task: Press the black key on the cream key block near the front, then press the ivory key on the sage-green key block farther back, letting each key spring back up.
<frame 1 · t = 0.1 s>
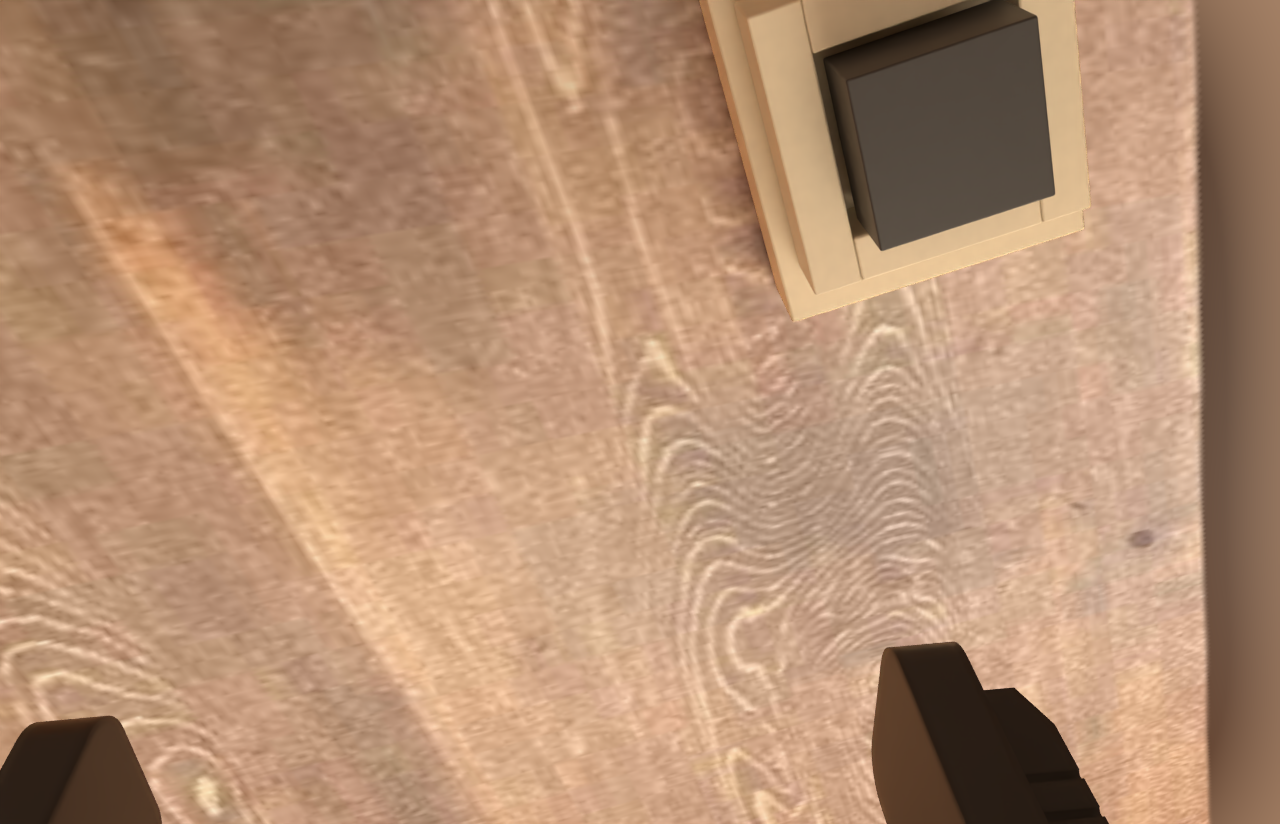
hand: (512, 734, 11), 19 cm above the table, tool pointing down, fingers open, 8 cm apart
black key: (939, 126, 23), point 5 cm above the table, slide at 0.1 cm
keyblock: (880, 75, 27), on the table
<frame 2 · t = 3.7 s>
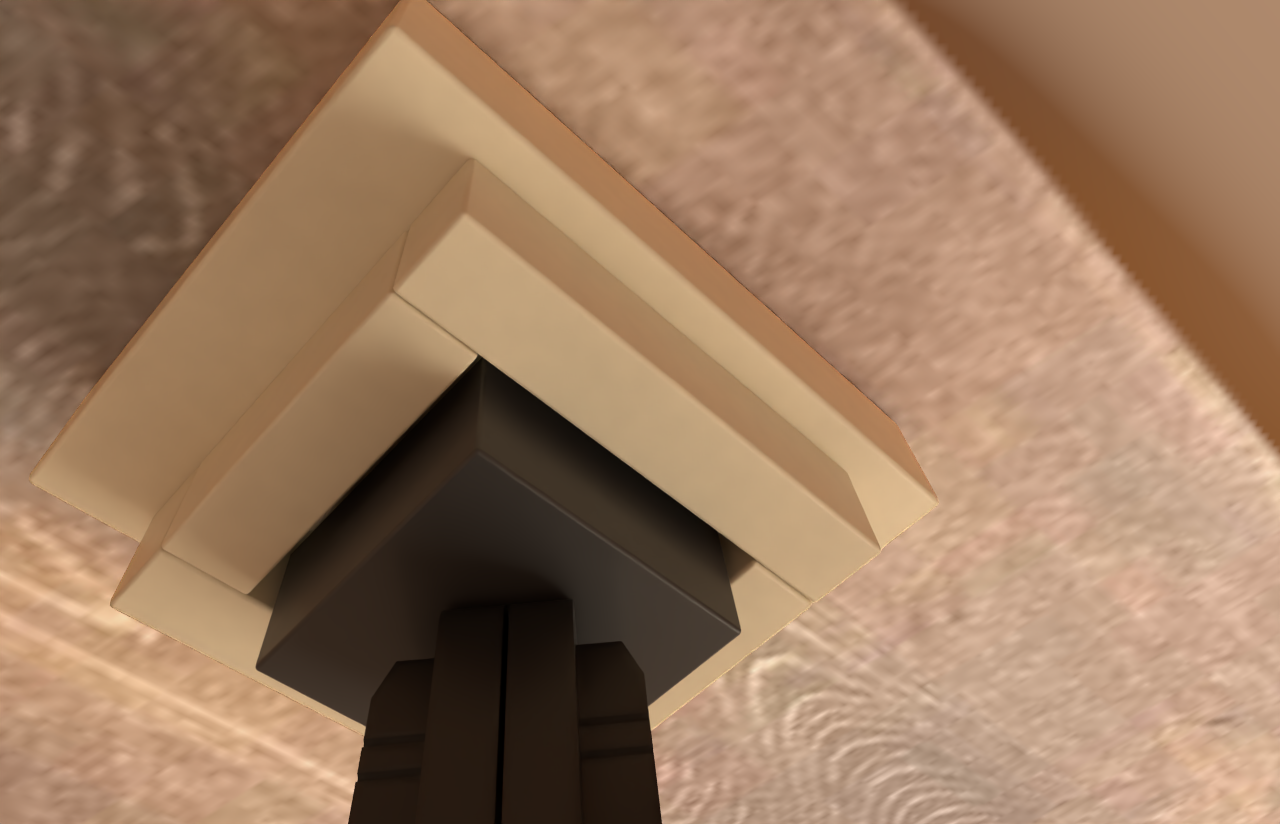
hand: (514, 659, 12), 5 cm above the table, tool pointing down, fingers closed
black key: (504, 591, 13), point 4 cm above the table, slide at -0.3 cm, touching gripper
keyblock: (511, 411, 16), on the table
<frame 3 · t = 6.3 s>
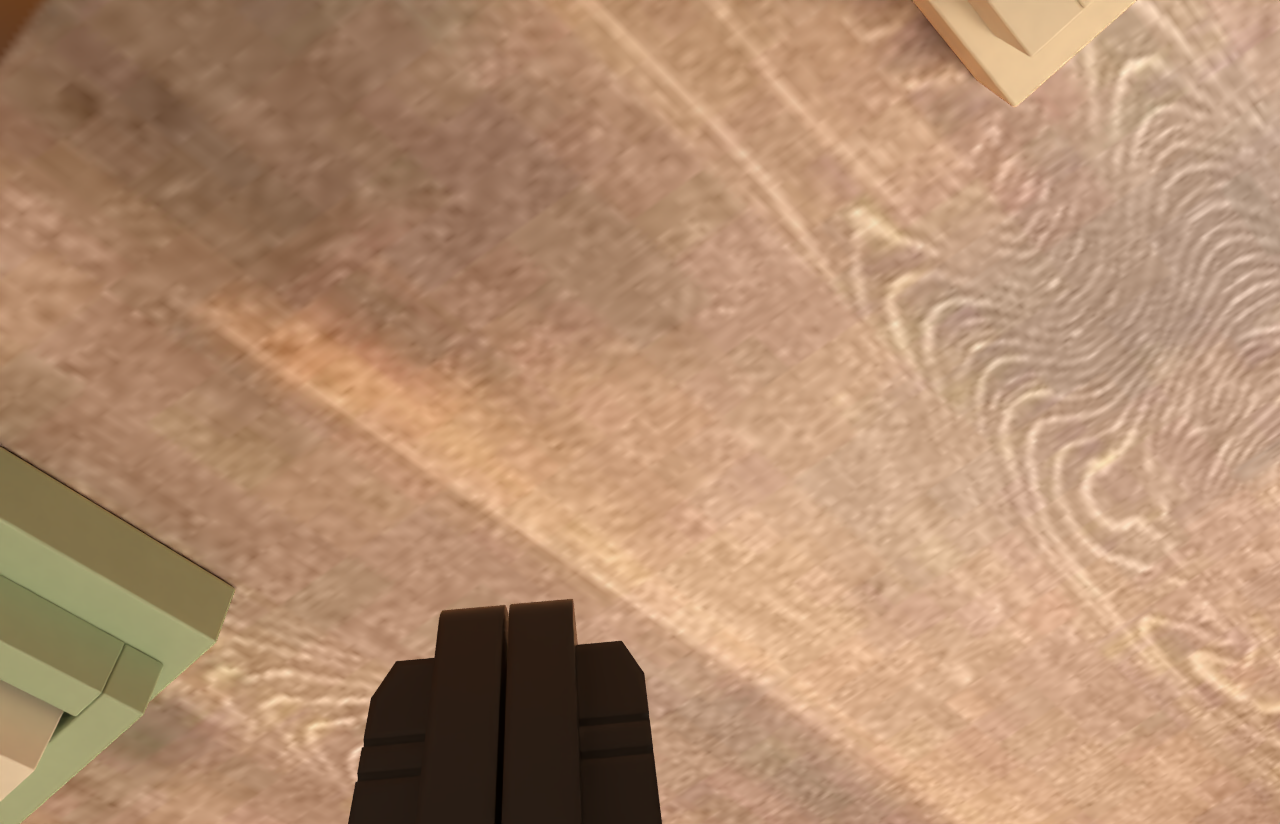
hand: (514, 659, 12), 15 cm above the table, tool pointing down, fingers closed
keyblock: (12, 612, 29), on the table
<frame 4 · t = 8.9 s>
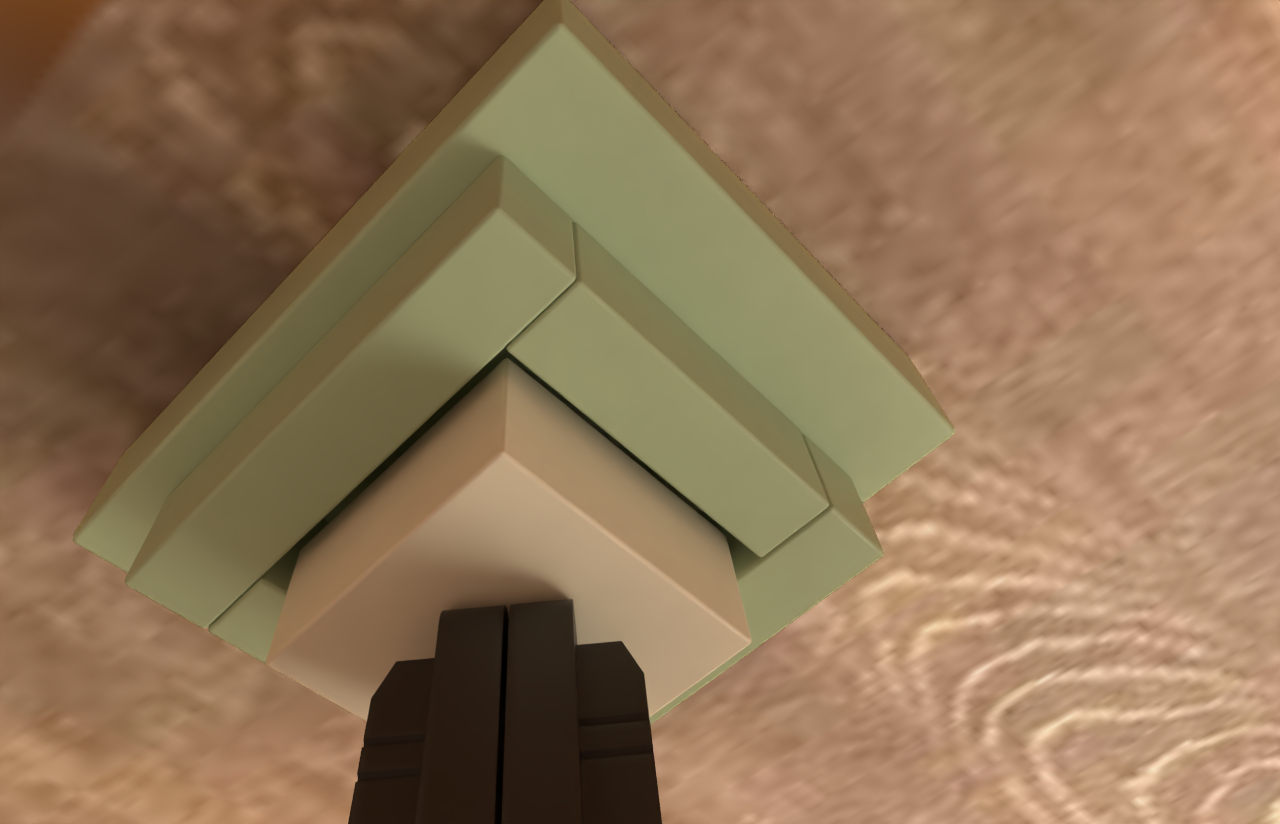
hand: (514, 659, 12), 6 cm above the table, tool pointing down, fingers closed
ivory key: (515, 594, 13), point 4 cm above the table, slide at -0.1 cm, touching gripper
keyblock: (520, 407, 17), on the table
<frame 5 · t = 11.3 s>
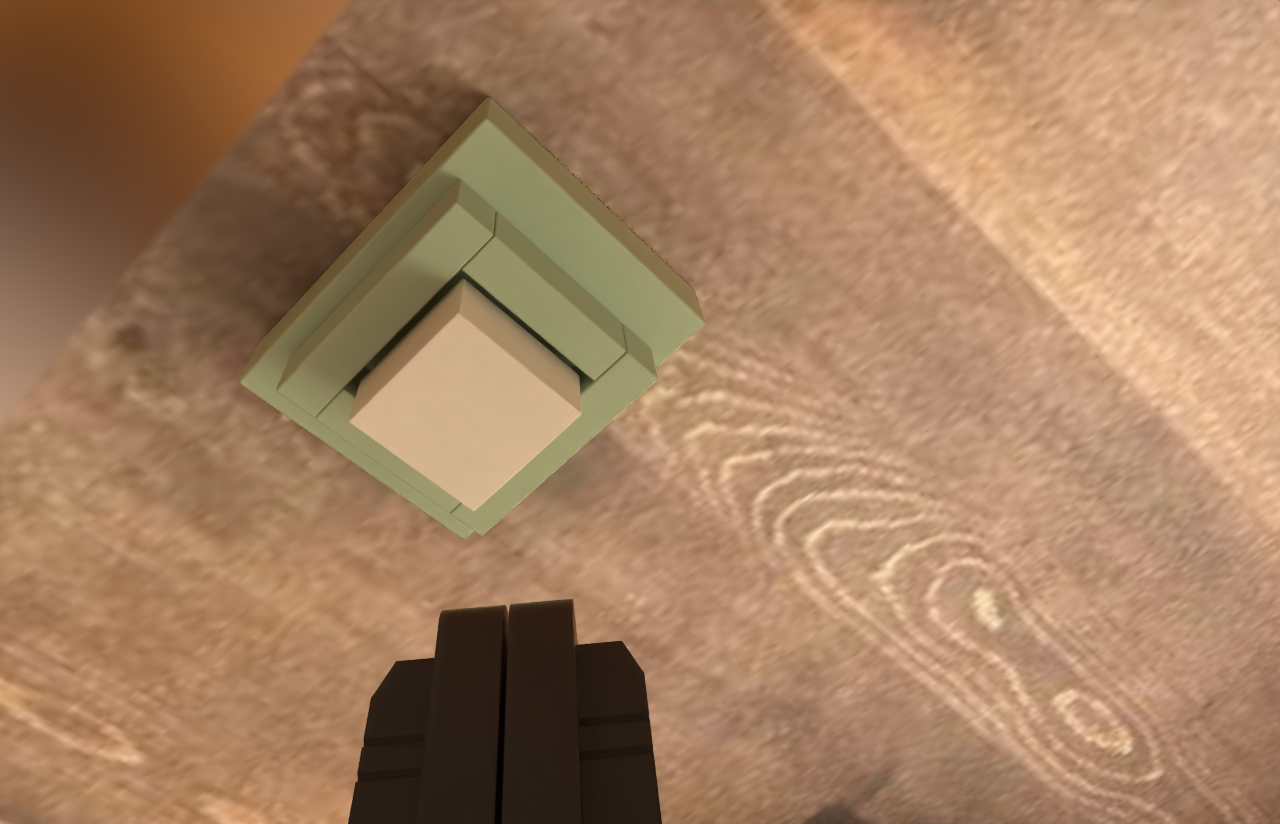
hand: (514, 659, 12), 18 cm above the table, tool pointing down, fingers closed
ivory key: (468, 397, 26), point 5 cm above the table, slide at 0.1 cm
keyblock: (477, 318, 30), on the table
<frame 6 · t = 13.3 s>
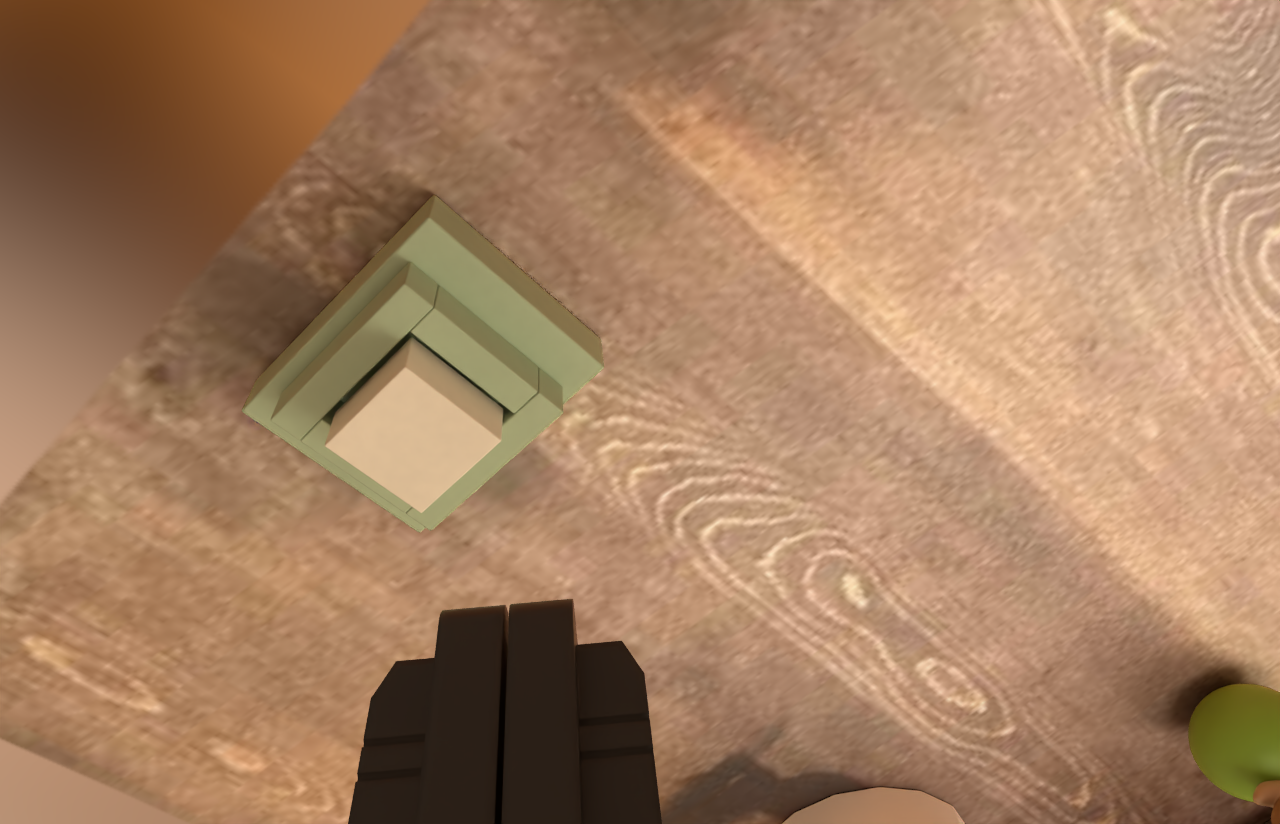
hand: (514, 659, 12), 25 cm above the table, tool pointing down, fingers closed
snail figurine: (1226, 697, 52), on the table
ivory key: (416, 426, 34), point 5 cm above the table, slide at 0.1 cm
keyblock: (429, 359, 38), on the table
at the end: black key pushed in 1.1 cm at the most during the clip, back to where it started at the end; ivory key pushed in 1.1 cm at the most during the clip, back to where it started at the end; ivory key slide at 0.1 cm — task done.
